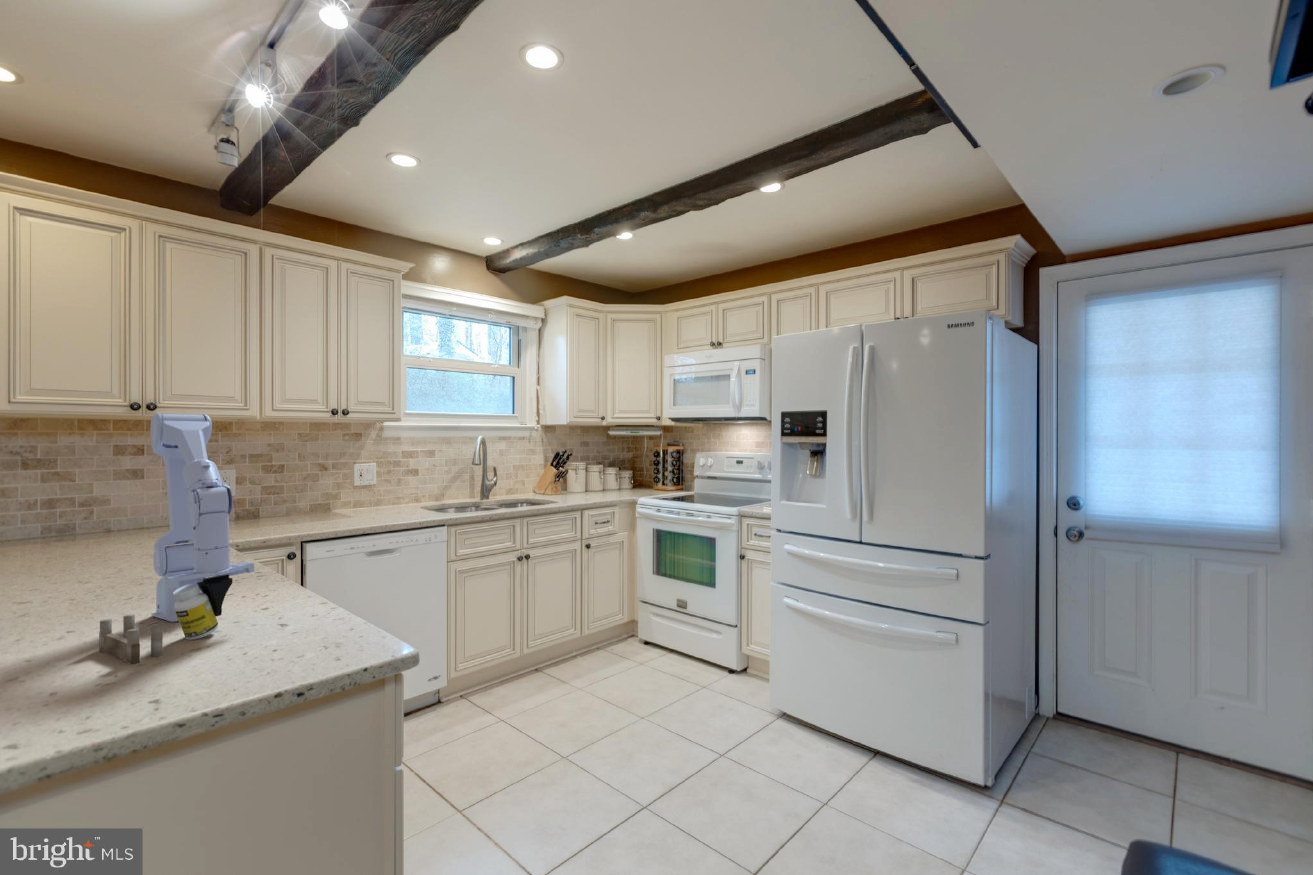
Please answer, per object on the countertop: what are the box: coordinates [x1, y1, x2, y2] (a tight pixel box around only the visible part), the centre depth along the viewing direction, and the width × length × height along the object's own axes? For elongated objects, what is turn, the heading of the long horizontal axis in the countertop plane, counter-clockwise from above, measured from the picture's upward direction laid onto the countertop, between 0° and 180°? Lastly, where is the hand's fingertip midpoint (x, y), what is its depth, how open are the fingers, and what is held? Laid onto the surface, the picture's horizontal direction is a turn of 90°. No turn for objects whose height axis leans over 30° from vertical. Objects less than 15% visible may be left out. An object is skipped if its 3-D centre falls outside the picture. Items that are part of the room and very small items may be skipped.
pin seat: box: [98, 613, 164, 665], centre depth 107 cm, size 13×5×6 cm, turn 62°
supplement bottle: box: [173, 584, 219, 641], centre depth 115 cm, size 5×5×10 cm
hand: (214, 615), depth 118 cm, fingers closed, pressing on supplement bottle
